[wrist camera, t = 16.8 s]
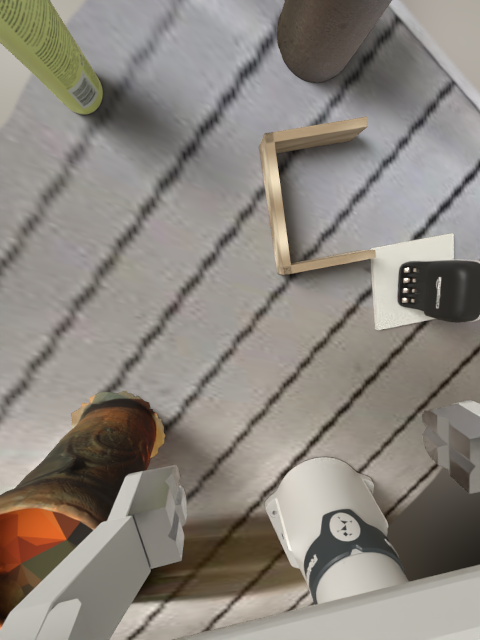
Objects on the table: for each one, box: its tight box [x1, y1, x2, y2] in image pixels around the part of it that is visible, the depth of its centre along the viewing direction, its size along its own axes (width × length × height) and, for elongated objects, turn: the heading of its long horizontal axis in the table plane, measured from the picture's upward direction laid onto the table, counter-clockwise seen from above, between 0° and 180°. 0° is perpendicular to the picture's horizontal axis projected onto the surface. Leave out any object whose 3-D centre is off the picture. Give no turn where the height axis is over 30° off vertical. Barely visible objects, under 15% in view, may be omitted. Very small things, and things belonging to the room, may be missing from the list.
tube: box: [0, 0, 103, 114], centre depth 23 cm, size 6×5×20 cm
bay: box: [259, 117, 376, 275], centre depth 35 cm, size 16×12×4 cm
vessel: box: [0, 391, 166, 629], centre depth 32 cm, size 14×14×20 cm
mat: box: [370, 233, 454, 330], centre depth 41 cm, size 12×12×1 cm
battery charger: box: [397, 259, 480, 322], centre depth 35 cm, size 7×4×11 cm, turn 4°
